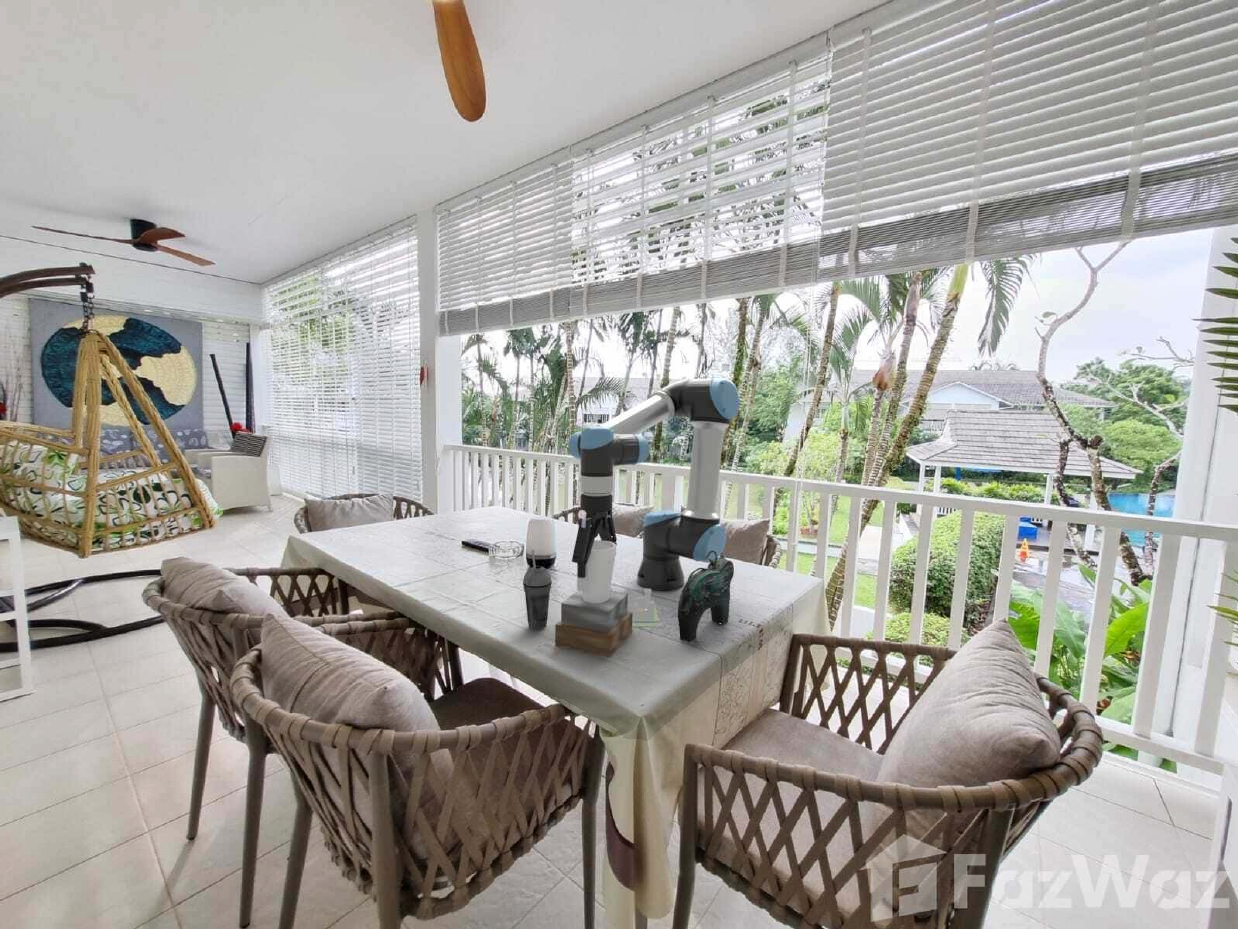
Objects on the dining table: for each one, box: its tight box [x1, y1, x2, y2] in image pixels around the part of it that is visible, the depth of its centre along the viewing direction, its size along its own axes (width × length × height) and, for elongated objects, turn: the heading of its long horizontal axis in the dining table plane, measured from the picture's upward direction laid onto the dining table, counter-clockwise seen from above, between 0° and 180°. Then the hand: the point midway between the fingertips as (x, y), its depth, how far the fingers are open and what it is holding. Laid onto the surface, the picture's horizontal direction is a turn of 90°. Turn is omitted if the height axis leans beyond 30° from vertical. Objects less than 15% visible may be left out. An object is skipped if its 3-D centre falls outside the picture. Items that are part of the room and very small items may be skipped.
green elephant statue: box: [677, 550, 735, 643], centre depth 125 cm, size 20×6×20 cm, turn 136°
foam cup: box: [582, 539, 617, 603], centre depth 118 cm, size 10×9×13 cm
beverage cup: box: [522, 549, 553, 631], centre depth 125 cm, size 7×7×20 cm
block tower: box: [554, 590, 633, 658], centre depth 120 cm, size 14×14×10 cm
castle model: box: [610, 587, 661, 627], centre depth 134 cm, size 15×15×7 cm
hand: (595, 581), depth 119 cm, fingers open, 13 cm apart
